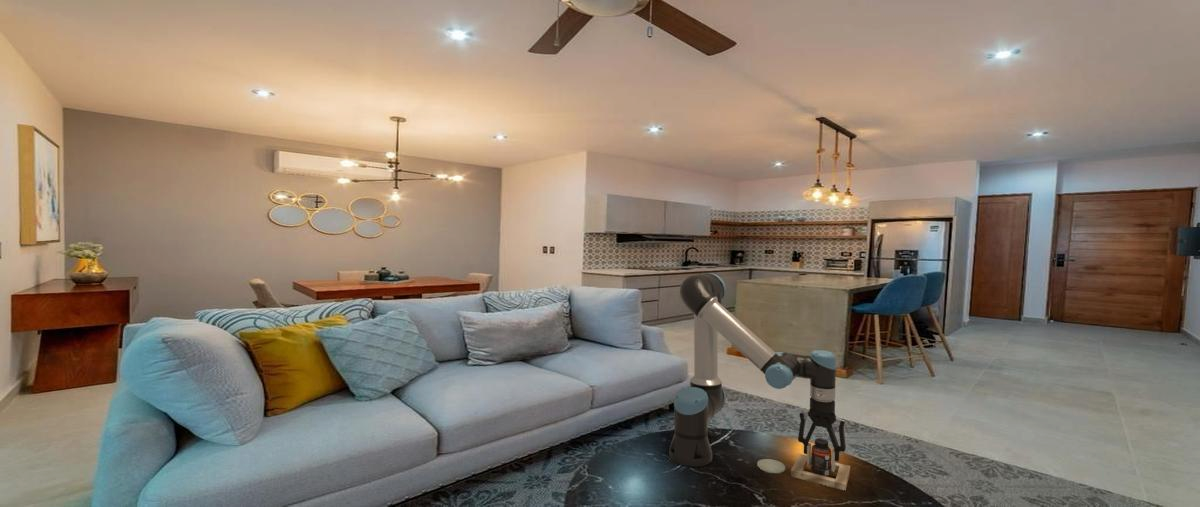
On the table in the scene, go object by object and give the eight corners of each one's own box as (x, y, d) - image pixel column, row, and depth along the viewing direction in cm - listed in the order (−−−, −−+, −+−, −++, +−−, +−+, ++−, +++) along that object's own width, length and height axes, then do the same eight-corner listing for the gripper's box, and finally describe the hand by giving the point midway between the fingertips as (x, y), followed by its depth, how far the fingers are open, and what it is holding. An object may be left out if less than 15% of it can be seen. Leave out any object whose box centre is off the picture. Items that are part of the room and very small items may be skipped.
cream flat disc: (754, 468, 162) (754, 467, 162) (761, 458, 169) (761, 456, 169) (781, 476, 157) (781, 474, 157) (787, 465, 164) (787, 463, 164)
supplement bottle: (833, 479, 155) (833, 445, 154) (813, 477, 156) (814, 443, 155) (828, 470, 160) (828, 437, 160) (809, 468, 162) (809, 436, 161)
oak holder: (790, 476, 157) (791, 470, 157) (799, 459, 168) (799, 453, 168) (845, 490, 148) (845, 484, 148) (850, 471, 160) (850, 465, 160)
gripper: (788, 396, 159) (787, 463, 160) (855, 408, 148) (853, 480, 149) (793, 389, 165) (791, 454, 167) (857, 400, 155) (855, 470, 156)
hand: (820, 466), depth 158 cm, fingers open, 7 cm apart
